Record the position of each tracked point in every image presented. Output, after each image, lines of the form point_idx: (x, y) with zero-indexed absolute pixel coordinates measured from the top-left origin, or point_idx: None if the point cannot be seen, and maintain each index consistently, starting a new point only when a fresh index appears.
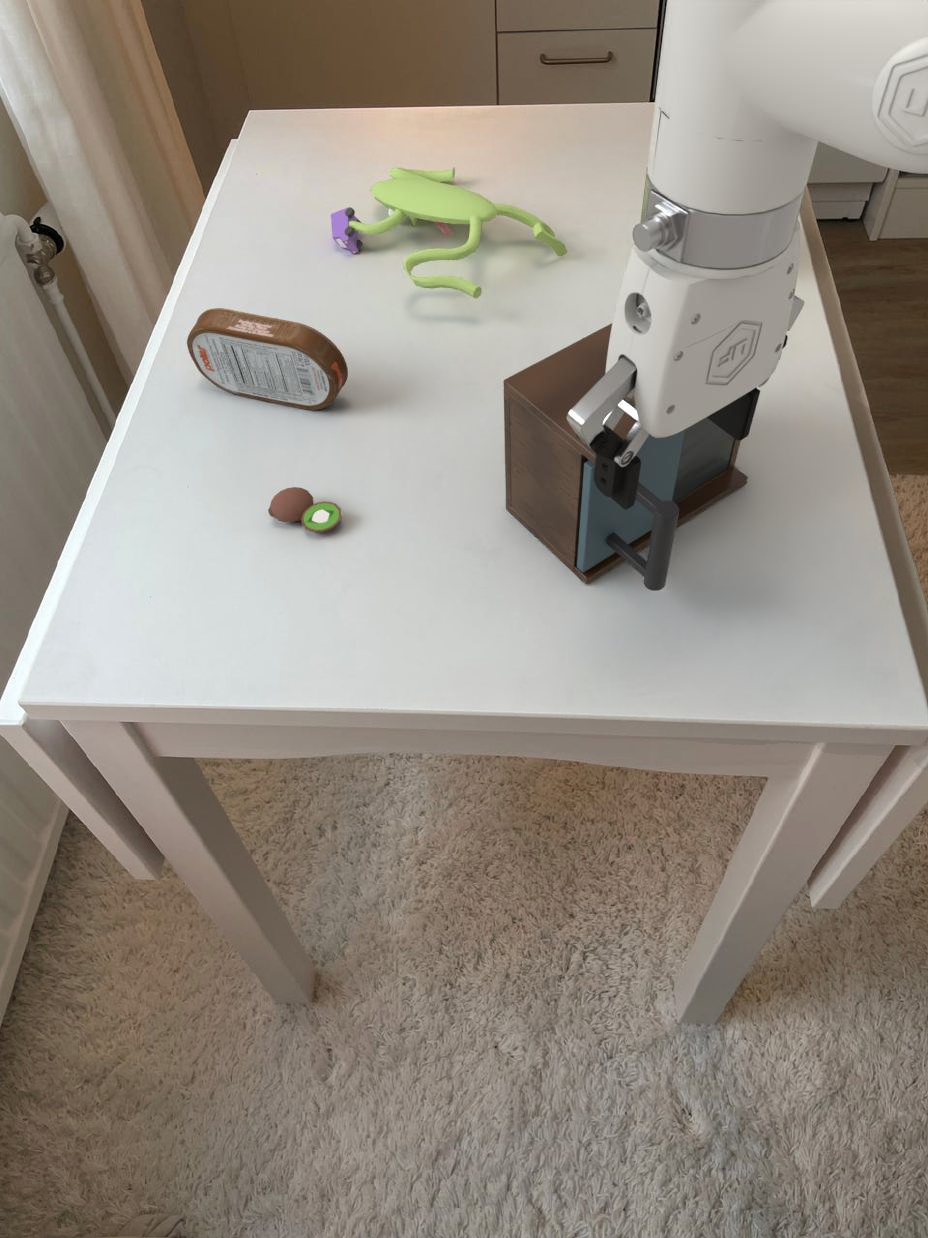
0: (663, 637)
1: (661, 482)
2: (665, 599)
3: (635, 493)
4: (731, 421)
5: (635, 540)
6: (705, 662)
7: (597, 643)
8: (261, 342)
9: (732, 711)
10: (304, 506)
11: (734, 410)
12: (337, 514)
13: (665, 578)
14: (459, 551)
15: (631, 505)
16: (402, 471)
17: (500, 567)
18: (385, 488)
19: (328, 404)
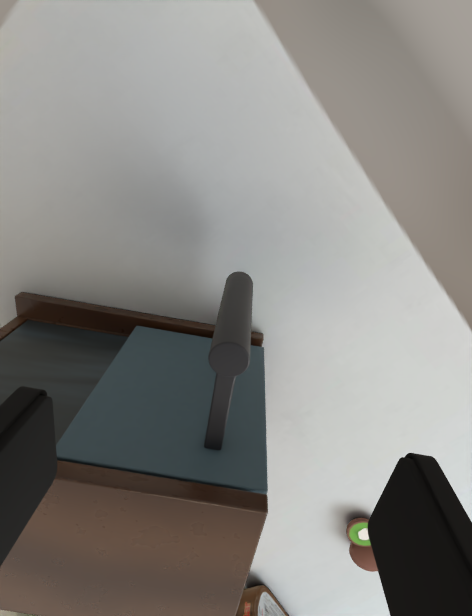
0: (265, 230)
1: (135, 373)
2: (220, 261)
3: (436, 493)
4: (29, 450)
5: (184, 332)
6: (263, 169)
7: (320, 279)
8: None
9: (304, 92)
10: (369, 550)
11: (2, 486)
12: (353, 527)
13: (236, 277)
14: (309, 437)
15: (426, 460)
16: (267, 513)
17: (301, 402)
18: (292, 512)
19: (260, 589)
